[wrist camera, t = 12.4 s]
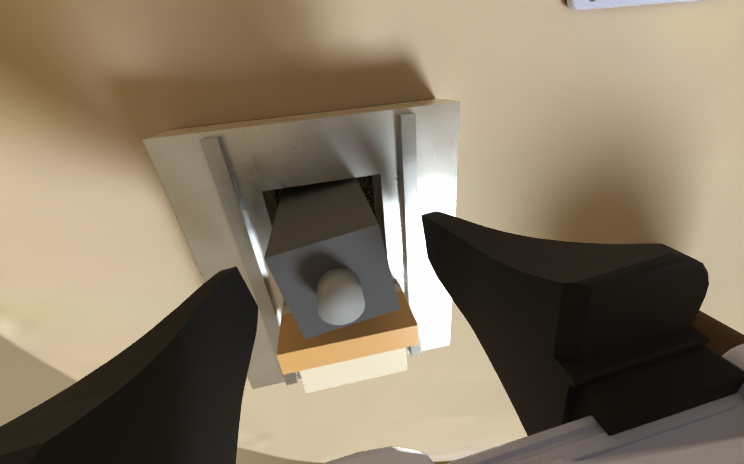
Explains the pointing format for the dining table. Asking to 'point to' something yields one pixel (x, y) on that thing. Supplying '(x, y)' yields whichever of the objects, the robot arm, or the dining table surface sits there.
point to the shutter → (348, 348)
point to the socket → (309, 166)
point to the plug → (329, 257)
